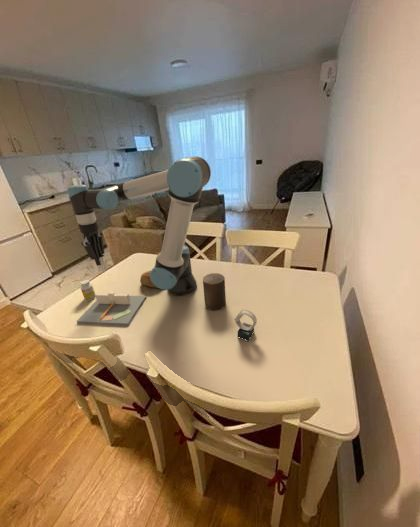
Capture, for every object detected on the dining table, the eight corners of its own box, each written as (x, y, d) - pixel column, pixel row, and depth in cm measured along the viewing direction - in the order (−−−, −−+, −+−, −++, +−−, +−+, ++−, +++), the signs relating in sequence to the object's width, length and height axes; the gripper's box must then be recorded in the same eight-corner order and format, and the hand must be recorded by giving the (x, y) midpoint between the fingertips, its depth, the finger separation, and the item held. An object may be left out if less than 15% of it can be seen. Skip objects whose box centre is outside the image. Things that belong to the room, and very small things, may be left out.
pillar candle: (224, 311, 104) (222, 281, 97) (202, 309, 106) (199, 280, 99) (227, 298, 112) (226, 270, 106) (207, 297, 114) (204, 269, 108)
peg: (131, 301, 113) (128, 291, 110) (118, 319, 101) (115, 308, 99) (100, 300, 115) (97, 290, 113) (84, 317, 104) (80, 307, 102)
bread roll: (159, 292, 121) (156, 279, 118) (136, 287, 127) (133, 274, 124) (169, 283, 129) (167, 270, 125) (147, 278, 135) (145, 266, 131)
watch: (239, 327, 94) (238, 304, 89) (258, 333, 90) (258, 310, 85) (232, 336, 90) (232, 313, 85) (252, 343, 86) (253, 319, 81)
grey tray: (146, 298, 117) (145, 295, 117) (128, 325, 100) (127, 323, 99) (102, 296, 121) (101, 294, 121) (77, 323, 104) (76, 320, 103)
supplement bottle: (95, 299, 120) (89, 283, 115) (84, 301, 118) (77, 285, 114) (96, 293, 124) (91, 278, 120) (85, 296, 123) (79, 280, 119)
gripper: (88, 218, 109) (102, 263, 120) (69, 227, 98) (86, 276, 108) (103, 217, 108) (116, 263, 119) (86, 227, 97) (101, 277, 107)
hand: (102, 270), depth 113 cm, fingers closed
